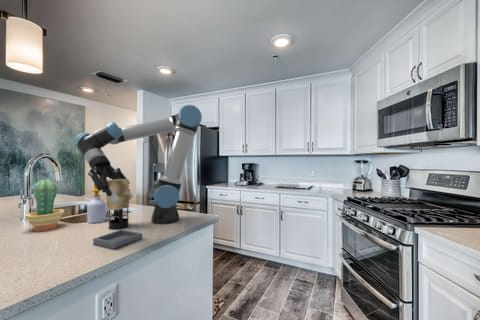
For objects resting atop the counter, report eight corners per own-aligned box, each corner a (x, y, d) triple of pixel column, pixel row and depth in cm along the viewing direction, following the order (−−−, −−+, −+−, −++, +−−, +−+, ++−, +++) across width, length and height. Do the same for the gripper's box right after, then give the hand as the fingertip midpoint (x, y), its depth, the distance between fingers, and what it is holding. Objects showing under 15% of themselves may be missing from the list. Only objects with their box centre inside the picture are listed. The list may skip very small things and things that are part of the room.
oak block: (119, 206, 98) (119, 179, 98) (129, 207, 96) (128, 179, 96) (106, 209, 93) (106, 180, 93) (116, 210, 90) (115, 180, 90)
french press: (131, 227, 114) (131, 182, 114) (110, 231, 108) (110, 184, 108) (125, 222, 123) (125, 181, 123) (106, 225, 117) (105, 182, 117)
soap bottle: (84, 224, 121) (84, 179, 121) (91, 219, 130) (90, 177, 130) (103, 222, 123) (102, 178, 123) (108, 218, 132) (107, 177, 132)
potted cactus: (62, 222, 125) (61, 177, 125) (67, 227, 115) (66, 179, 115) (24, 228, 114) (23, 179, 114) (26, 235, 104) (25, 181, 104)
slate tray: (121, 234, 103) (121, 229, 103) (142, 238, 97) (142, 233, 97) (93, 244, 91) (93, 238, 91) (114, 250, 86) (114, 243, 86)
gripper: (113, 165, 109) (138, 201, 102) (70, 167, 92) (97, 210, 85) (120, 154, 107) (146, 190, 100) (78, 154, 89) (106, 197, 83)
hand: (123, 199), depth 93 cm, fingers closed on oak block, 6 cm apart
